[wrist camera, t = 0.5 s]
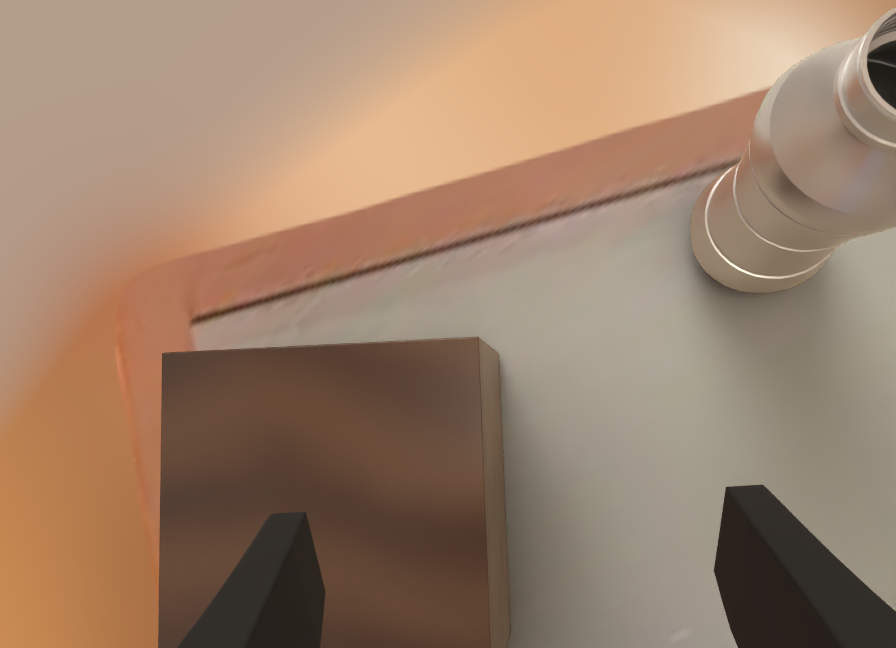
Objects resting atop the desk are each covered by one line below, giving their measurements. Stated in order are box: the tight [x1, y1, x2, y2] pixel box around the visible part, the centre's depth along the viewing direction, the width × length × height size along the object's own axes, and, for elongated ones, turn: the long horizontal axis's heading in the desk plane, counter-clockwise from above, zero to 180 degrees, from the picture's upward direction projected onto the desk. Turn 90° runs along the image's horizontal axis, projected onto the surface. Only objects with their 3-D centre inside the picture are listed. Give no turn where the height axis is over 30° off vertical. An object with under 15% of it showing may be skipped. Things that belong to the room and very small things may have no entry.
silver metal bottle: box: [690, 7, 896, 293], centre depth 29 cm, size 6×7×20 cm
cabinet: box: [158, 337, 511, 648], centre depth 36 cm, size 14×14×9 cm
